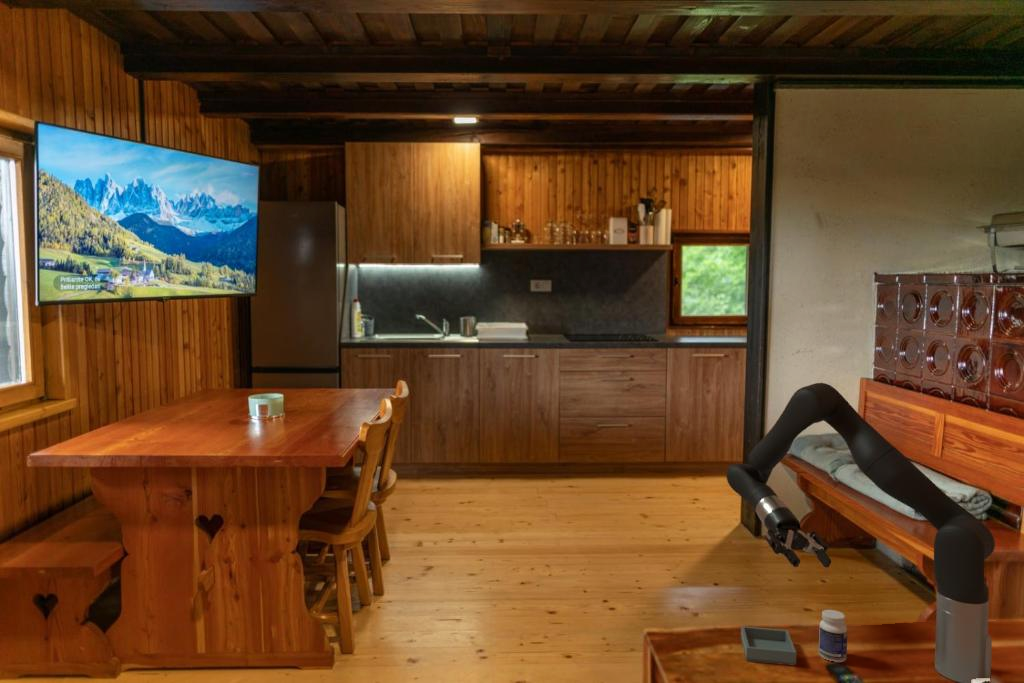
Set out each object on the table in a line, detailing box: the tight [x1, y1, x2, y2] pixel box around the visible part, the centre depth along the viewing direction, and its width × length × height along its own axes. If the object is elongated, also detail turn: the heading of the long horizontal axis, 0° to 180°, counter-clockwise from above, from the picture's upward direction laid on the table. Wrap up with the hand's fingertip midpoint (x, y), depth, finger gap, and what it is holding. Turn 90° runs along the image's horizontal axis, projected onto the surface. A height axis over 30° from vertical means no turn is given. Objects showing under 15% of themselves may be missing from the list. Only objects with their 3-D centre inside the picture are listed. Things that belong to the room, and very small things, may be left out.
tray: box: [740, 625, 797, 666], centre depth 156 cm, size 10×10×3 cm
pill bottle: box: [818, 609, 848, 663], centre depth 153 cm, size 6×6×10 cm
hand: (813, 564), depth 160 cm, fingers open, 8 cm apart
